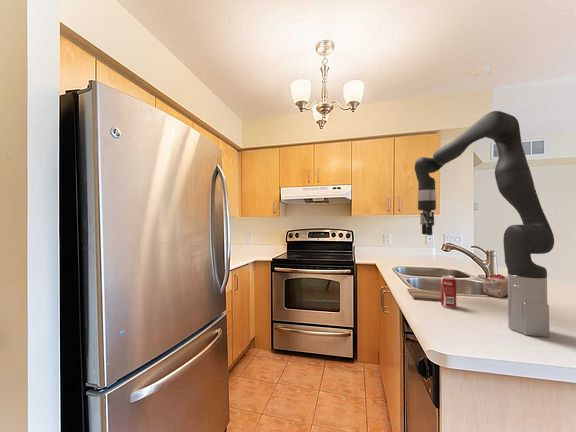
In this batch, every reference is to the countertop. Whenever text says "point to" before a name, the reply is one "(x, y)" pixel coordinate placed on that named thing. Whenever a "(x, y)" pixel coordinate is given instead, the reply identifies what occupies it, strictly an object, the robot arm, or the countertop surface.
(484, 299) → the countertop surface
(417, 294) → the walnut board
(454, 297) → the soda can
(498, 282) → the food item
